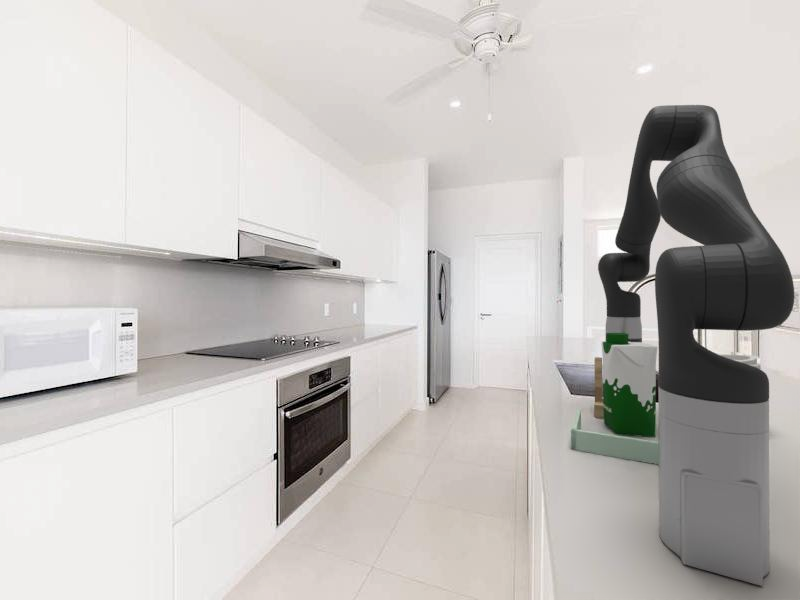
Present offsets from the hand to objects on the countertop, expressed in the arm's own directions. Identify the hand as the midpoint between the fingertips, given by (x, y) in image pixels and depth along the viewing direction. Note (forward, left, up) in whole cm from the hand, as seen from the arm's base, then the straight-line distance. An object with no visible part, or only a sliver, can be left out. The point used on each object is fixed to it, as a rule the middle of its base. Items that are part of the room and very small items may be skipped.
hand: (623, 406), depth 89 cm
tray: (-23, -1, -1) cm, 23 cm away
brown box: (-5, +1, -1) cm, 6 cm away
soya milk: (-14, -1, -1) cm, 14 cm away
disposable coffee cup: (-2, -19, -1) cm, 19 cm away
